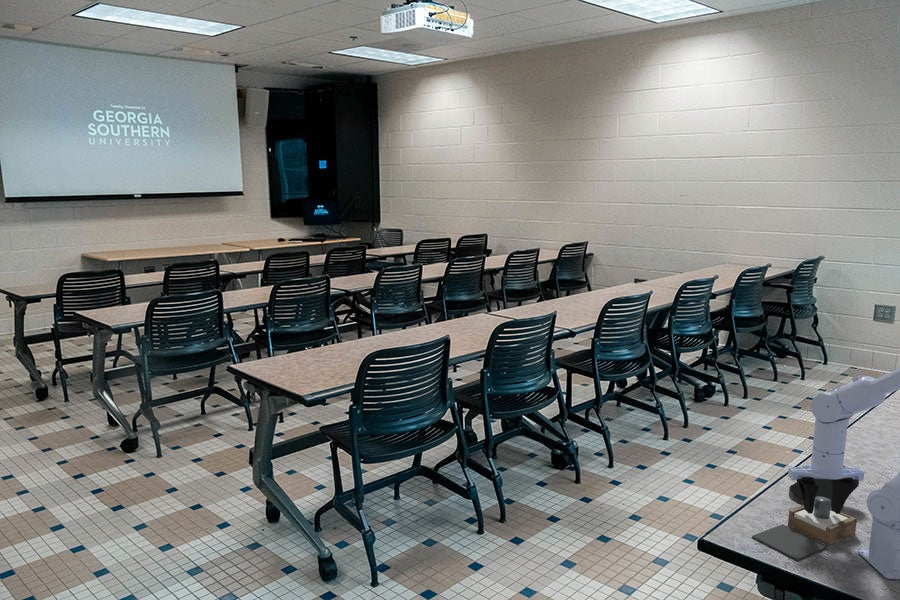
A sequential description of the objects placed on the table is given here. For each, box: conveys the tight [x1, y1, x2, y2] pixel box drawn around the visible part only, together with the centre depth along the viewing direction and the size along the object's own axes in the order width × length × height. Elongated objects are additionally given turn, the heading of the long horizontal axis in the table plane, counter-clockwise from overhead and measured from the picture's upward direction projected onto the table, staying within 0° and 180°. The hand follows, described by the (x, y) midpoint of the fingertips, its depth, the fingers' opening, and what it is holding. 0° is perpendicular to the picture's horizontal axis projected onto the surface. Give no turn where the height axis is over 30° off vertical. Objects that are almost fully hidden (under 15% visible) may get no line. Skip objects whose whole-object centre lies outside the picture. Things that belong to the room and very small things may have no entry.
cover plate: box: [794, 497, 849, 531], centre depth 142 cm, size 8×7×4 cm
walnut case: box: [787, 502, 858, 546], centre depth 143 cm, size 9×9×4 cm
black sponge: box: [788, 464, 860, 506], centre depth 153 cm, size 16×8×4 cm, turn 123°
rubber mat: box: [751, 523, 830, 562], centre depth 138 cm, size 10×10×1 cm
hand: (821, 511), depth 142 cm, fingers open, 5 cm apart
